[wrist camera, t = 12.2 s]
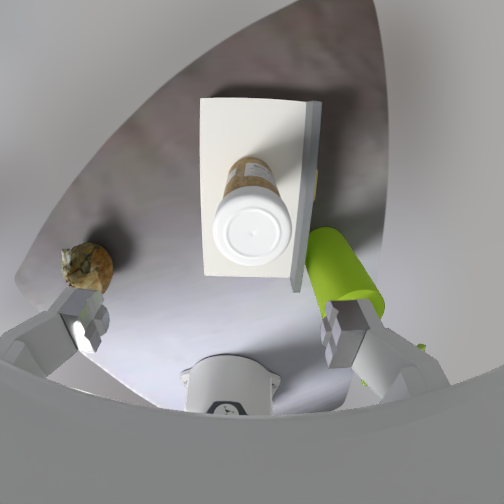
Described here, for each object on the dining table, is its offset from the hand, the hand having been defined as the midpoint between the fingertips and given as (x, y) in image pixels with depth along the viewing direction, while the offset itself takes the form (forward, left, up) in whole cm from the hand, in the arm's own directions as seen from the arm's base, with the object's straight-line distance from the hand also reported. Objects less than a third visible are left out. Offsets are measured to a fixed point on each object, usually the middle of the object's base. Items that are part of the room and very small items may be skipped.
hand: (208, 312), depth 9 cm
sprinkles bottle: (0, -2, -20) cm, 20 cm away
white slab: (-2, -2, -23) cm, 23 cm away
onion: (-12, +20, -23) cm, 33 cm away
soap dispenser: (-9, -12, -23) cm, 28 cm away
